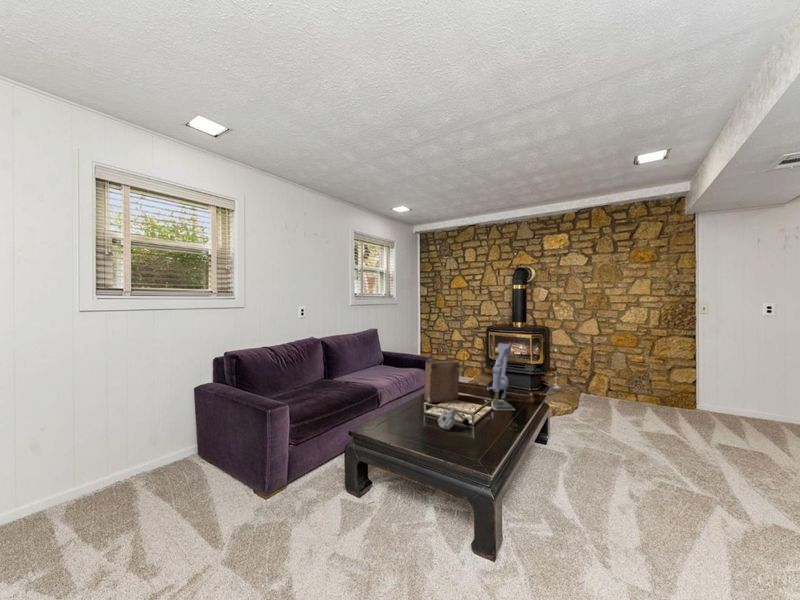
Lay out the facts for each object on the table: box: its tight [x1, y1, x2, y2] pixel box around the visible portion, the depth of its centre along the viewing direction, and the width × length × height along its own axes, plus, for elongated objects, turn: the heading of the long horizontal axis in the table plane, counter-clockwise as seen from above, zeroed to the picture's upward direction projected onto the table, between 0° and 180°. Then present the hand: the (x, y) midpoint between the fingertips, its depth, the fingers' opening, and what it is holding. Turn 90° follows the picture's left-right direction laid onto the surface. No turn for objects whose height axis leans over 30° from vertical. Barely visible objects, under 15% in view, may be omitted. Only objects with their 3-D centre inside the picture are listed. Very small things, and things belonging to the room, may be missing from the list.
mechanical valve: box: [437, 406, 470, 431], centre depth 212 cm, size 10×18×15 cm
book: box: [423, 359, 460, 404], centre depth 261 cm, size 25×9×30 cm, turn 115°
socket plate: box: [483, 399, 516, 411], centre depth 253 cm, size 22×16×3 cm
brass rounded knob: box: [493, 390, 499, 401], centre depth 259 cm, size 4×4×8 cm
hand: (495, 399), depth 259 cm, fingers open, 5 cm apart
